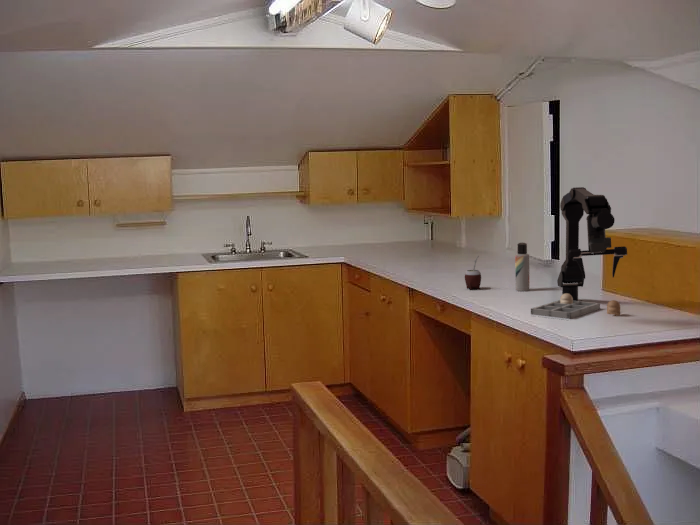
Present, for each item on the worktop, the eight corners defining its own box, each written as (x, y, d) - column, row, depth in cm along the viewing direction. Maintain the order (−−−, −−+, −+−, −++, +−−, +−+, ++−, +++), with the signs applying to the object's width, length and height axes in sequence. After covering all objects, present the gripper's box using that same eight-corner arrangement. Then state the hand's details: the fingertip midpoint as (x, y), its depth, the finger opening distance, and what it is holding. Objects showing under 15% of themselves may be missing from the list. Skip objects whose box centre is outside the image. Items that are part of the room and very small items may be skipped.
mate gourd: (468, 287, 349) (468, 253, 347) (485, 288, 345) (485, 253, 343) (461, 290, 343) (461, 255, 341) (479, 291, 338) (478, 255, 337)
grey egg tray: (562, 306, 298) (562, 299, 297) (600, 310, 287) (600, 303, 287) (530, 315, 282) (530, 308, 281) (569, 320, 271) (569, 313, 271)
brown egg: (610, 313, 282) (610, 298, 281) (622, 314, 279) (622, 299, 278) (604, 315, 278) (604, 300, 278) (616, 316, 275) (616, 301, 275)
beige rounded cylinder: (564, 305, 295) (564, 292, 294) (575, 307, 292) (575, 293, 291) (558, 307, 292) (558, 293, 291) (569, 309, 289) (569, 294, 288)
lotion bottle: (527, 289, 339) (527, 241, 337) (531, 291, 334) (530, 243, 331) (514, 289, 339) (513, 242, 337) (517, 291, 333) (517, 243, 331)
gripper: (567, 231, 266) (570, 278, 265) (626, 228, 261) (629, 276, 260) (567, 234, 277) (570, 279, 276) (624, 231, 272) (627, 277, 271)
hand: (598, 278), depth 271 cm, fingers open, 9 cm apart
